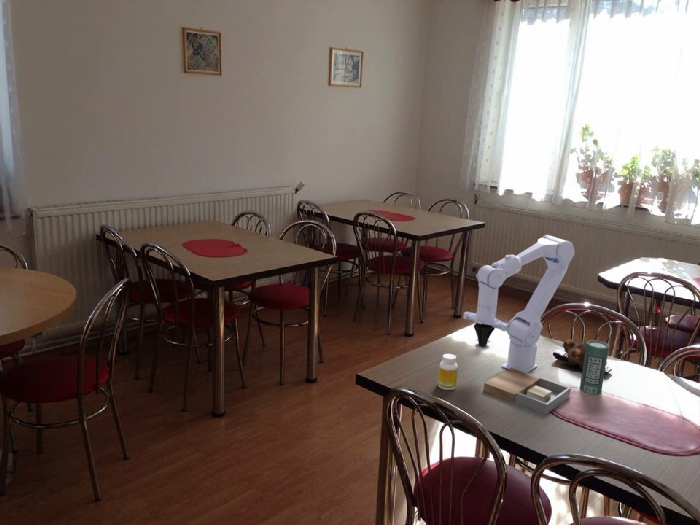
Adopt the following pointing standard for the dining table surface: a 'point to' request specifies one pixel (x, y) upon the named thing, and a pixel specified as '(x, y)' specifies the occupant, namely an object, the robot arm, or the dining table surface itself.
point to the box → (557, 398)
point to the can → (594, 367)
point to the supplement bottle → (448, 372)
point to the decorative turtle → (575, 352)
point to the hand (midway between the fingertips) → (482, 346)
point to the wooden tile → (539, 393)
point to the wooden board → (511, 384)
